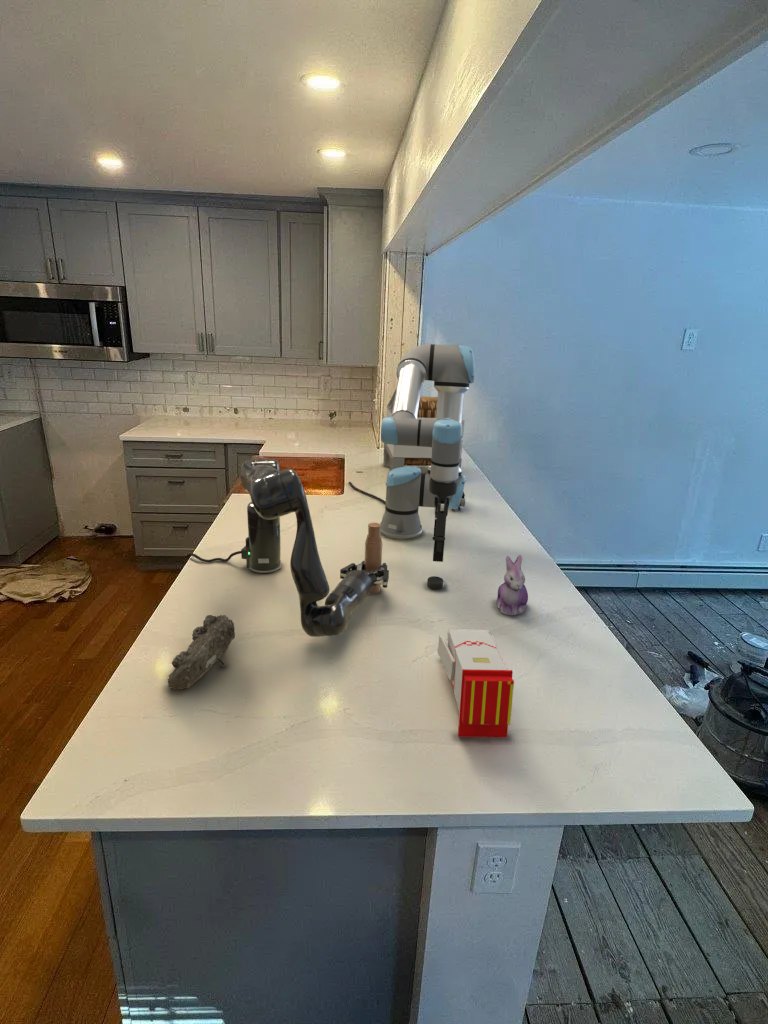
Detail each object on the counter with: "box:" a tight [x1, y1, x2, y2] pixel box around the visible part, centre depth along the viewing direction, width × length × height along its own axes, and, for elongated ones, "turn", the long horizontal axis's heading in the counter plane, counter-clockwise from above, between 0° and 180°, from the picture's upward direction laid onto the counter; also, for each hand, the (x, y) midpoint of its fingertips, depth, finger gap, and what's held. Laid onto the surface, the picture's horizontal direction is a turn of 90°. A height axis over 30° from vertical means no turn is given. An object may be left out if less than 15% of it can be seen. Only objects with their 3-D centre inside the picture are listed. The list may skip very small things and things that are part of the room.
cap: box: [426, 575, 444, 591], centre depth 163 cm, size 5×5×2 cm
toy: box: [437, 628, 515, 738], centre depth 117 cm, size 12×13×30 cm
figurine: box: [496, 554, 529, 616], centre depth 150 cm, size 9×10×15 cm
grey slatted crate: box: [383, 389, 465, 472], centre depth 268 cm, size 34×33×41 cm
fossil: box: [167, 614, 236, 691], centre depth 122 cm, size 22×10×15 cm
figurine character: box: [451, 490, 466, 511], centre depth 229 cm, size 7×8×15 cm
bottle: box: [364, 522, 383, 594], centre depth 156 cm, size 5×5×20 cm
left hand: (376, 564), depth 160 cm, fingers closed on bottle, 4 cm apart
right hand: (437, 550), depth 160 cm, fingers open, 13 cm apart
